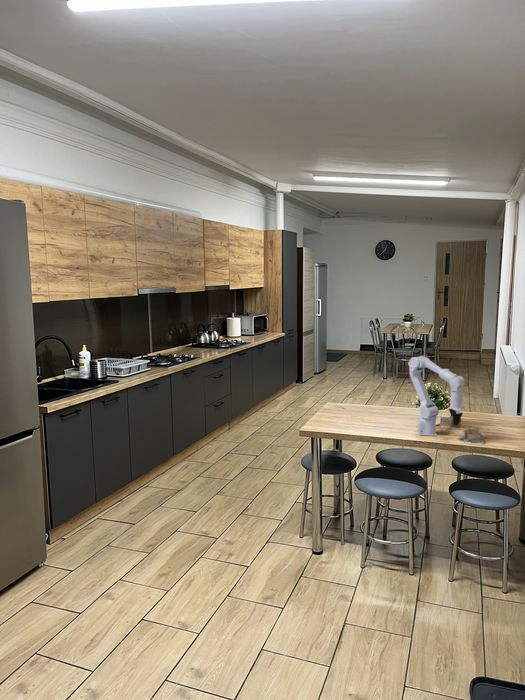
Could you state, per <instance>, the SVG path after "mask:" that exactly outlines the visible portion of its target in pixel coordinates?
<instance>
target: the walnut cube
mask: <svg viewBox="0 0 525 700" xmlns="http://www.w3.org/2000/svg"><path fill="white" fill-rule="evenodd" d="M448 421H449V422H448V423H449V424H448V426H449V427H450V428H454V429H461V428H462V418H460V421H459V424H458V425H454V422H453V416H451V415H449V420H448Z"/></svg>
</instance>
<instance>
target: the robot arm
mask: <svg viewBox="0 0 525 700" xmlns="http://www.w3.org/2000/svg"><path fill="white" fill-rule="evenodd" d="M407 364H408V367H409V369H408V370H409V376H410V379H411V381H412V383H413V386H414V389H415V391H416V394H417V396H418V399H419V402H420V405H419V407H418V408H419V412H420V413H419V414H420V416H421V417H418V419H417V420H418V422H417V423H418V426H417V433H418V435H419V436H433V437H435V436H438V434H437V433H436V432H437V431H436V429H437V428H436V427H437V416H438V415H439V412H440V411H439V408H438V406H437V405H436V404H435V402H434V401H432V400H431V398H430V395H429V393H428V389H427V388H426V386H425V383H424V380H423V378H422V375H421V373H422V372H423V370H424V369H425V368H427V369H429V370H430V371H433V372H434V373H436V374H437V375H438V377H439V378H440V379H442V380H443V381H445V382H446V383H448V384H449V387H450V402H449V403H450V404H449V409H448V410H449V414H450V416H453V422H454V425H458V424H459V421H460V418H461V417H462V416H463V412H462V411H461V410H464V409H465V408H464V406H463V404H462V403H463V387H464V385H465V384H466V379H465V378H464V377H463V376H462V375H457V374H456V373H453V372H452V371H450V369H449V368H442V367H440V366H439V365H437V364H436V363H435V362H433V361H432V360H430V358H429V357H426V356H425V355H420V356H416V357H415V356H414V357H410V359H409V361H408V363H407ZM461 419H462V418H461Z"/></svg>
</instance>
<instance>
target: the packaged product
mask: <svg viewBox="0 0 525 700" xmlns="http://www.w3.org/2000/svg"><path fill="white" fill-rule="evenodd" d="M463 431H464V432H463ZM463 431H462V432H461V436H462V438H463V441H464V443H465V442H471V443H470V444H477V443H481V444H480V445H484V444H485V440H484V438H483V435H482V433H481V432H479V430H478V428H477V427H468V428H465V429H464V430H463Z"/></svg>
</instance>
